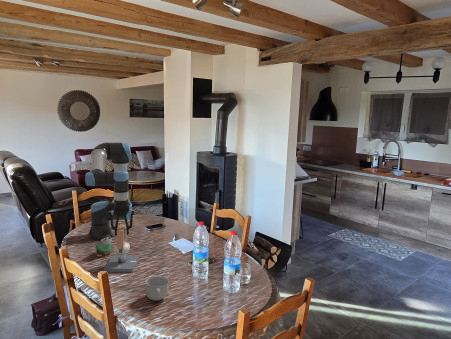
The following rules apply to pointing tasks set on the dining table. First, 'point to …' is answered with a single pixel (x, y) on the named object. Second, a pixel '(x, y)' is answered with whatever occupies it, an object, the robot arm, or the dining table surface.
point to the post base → (121, 263)
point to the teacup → (156, 287)
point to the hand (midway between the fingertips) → (121, 240)
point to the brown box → (121, 241)
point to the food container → (103, 246)
